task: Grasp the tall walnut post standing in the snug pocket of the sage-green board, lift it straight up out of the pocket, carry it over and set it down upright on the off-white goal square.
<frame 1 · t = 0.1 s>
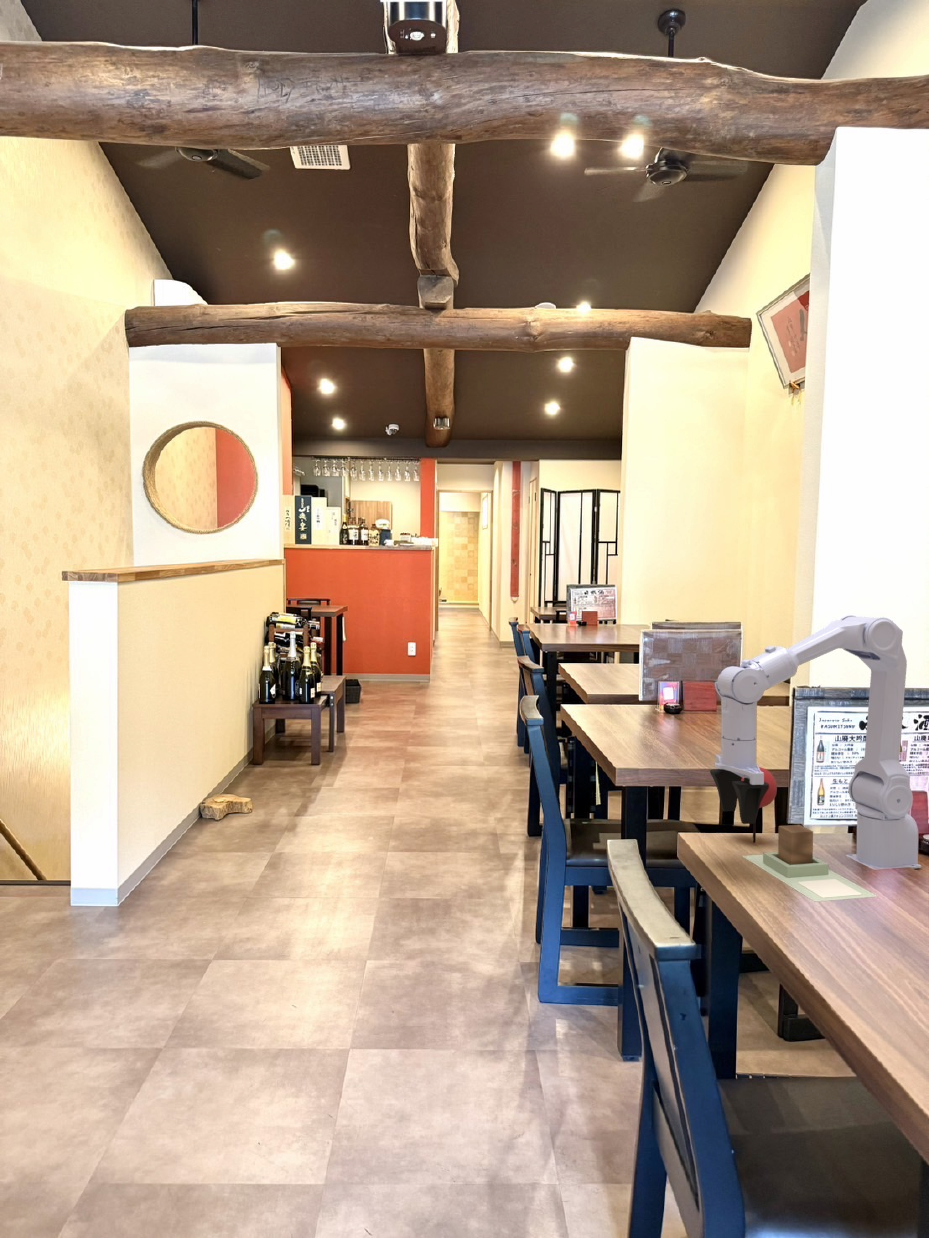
hand: (738, 816, 143), 10 cm above the table, fingers open, 7 cm apart
lollipop: (754, 846, 160), on the table
pocket board: (805, 878, 142), on the table
walnut post: (795, 868, 145), point 1 cm above the table, touching pocket board
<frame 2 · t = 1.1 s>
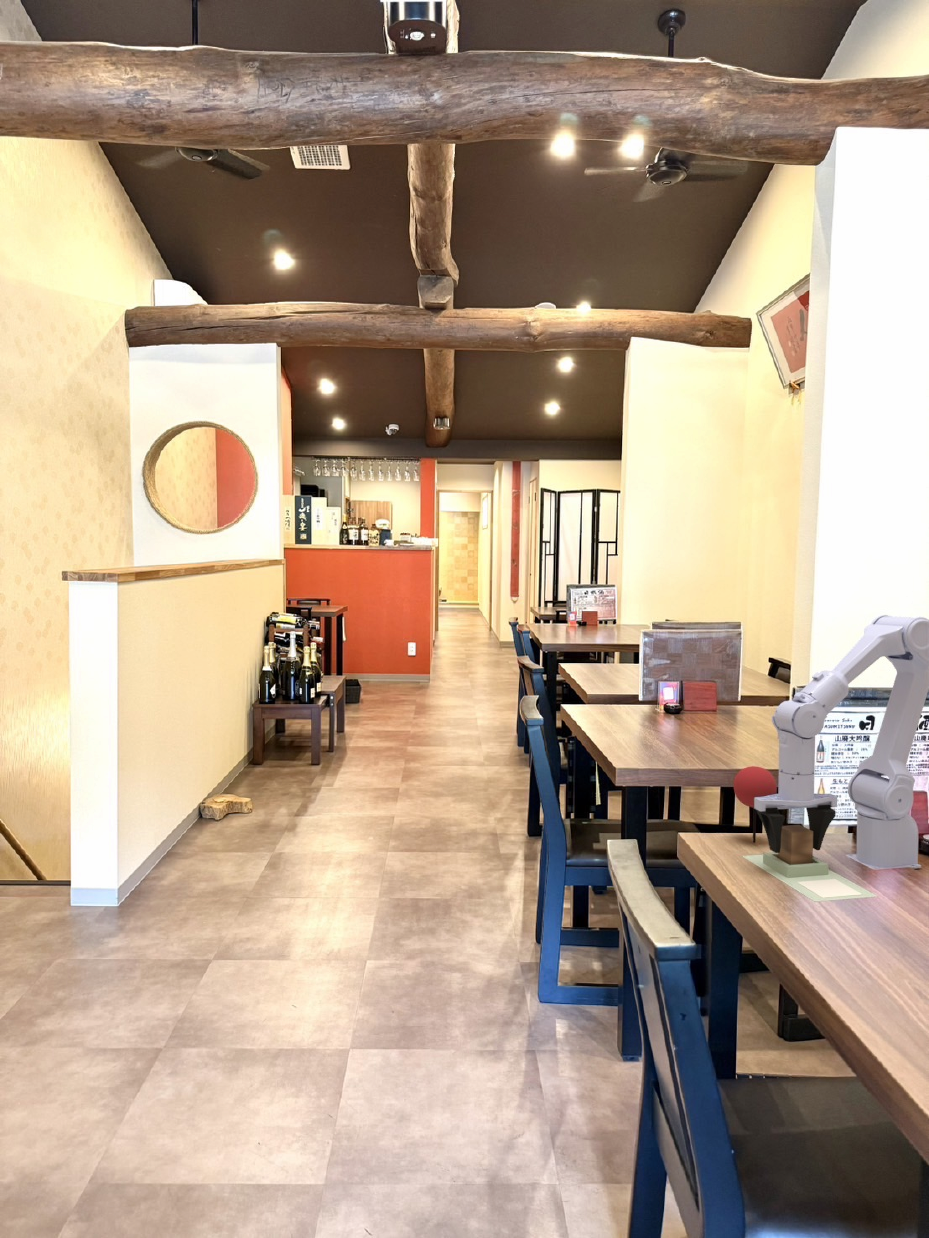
hand: (794, 849, 145), 4 cm above the table, fingers open, 7 cm apart
nothing on the table moved.
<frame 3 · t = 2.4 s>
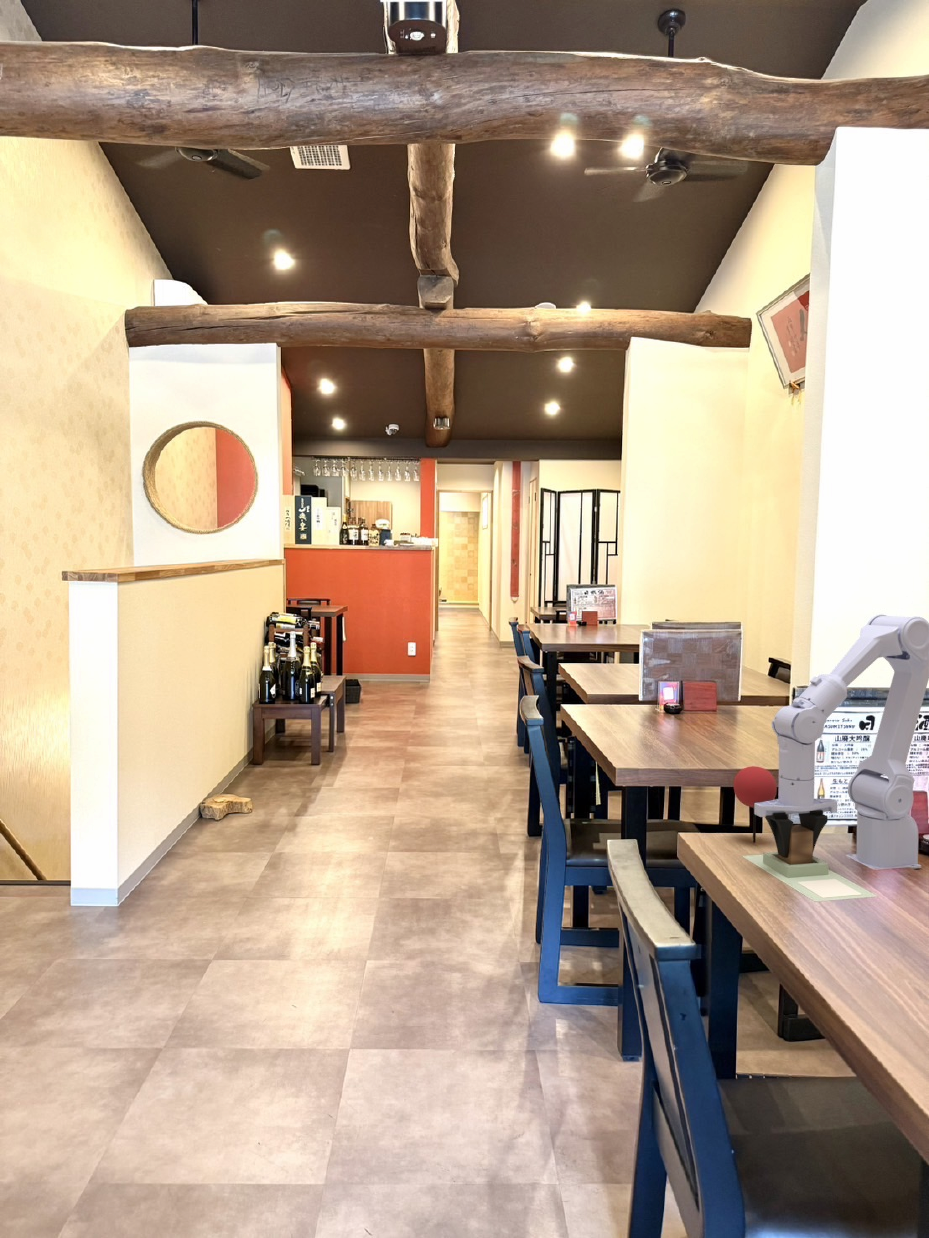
hand: (795, 855, 145), 3 cm above the table, fingers closed on walnut post, 4 cm apart
walnut post: (795, 868, 145), point 1 cm above the table, touching gripper, pocket board
everything else where it was.
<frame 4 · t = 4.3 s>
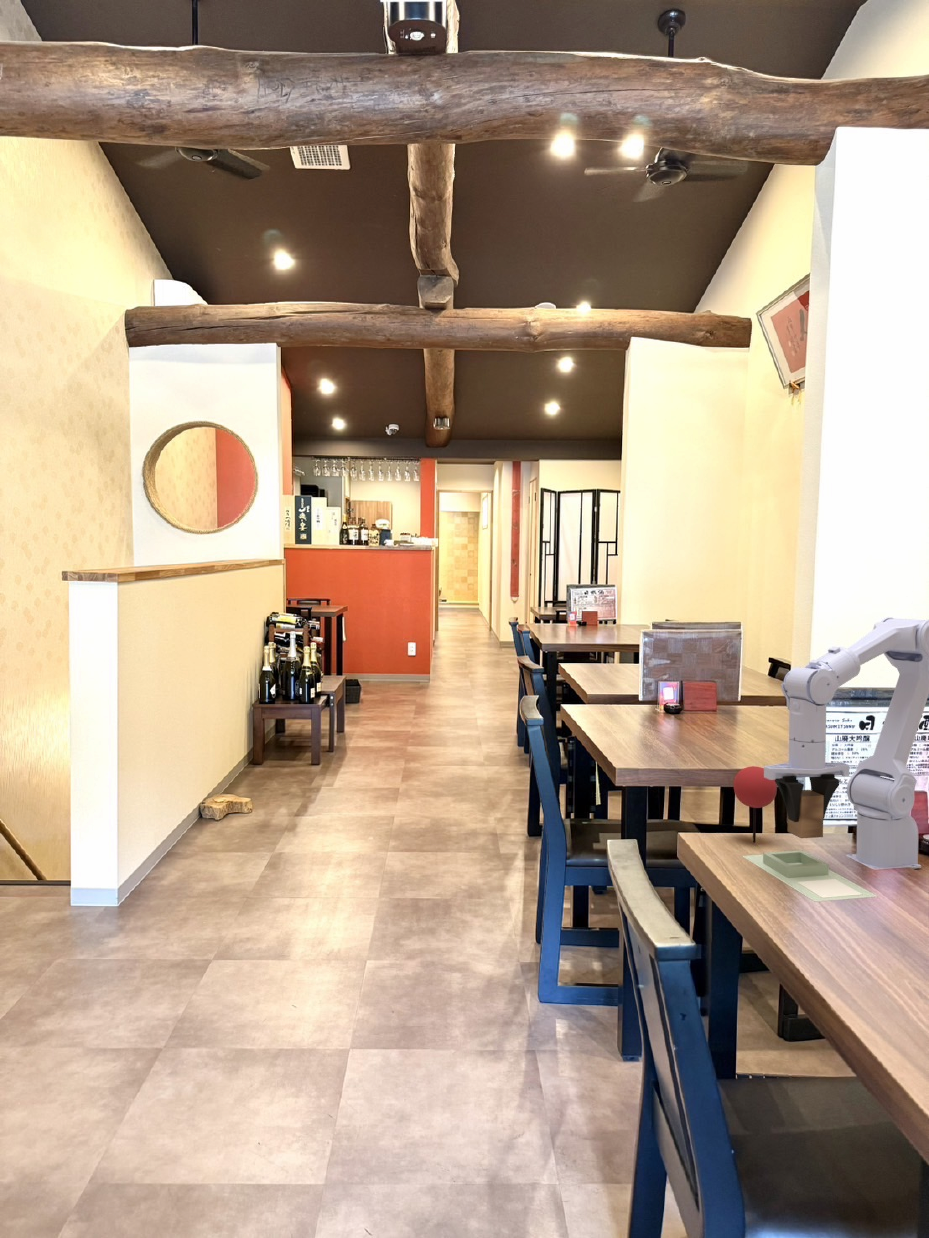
hand: (805, 819, 141), 10 cm above the table, fingers closed on walnut post, 4 cm apart
walnut post: (805, 834, 142), point 7 cm above the table, touching gripper
everything else where it was.
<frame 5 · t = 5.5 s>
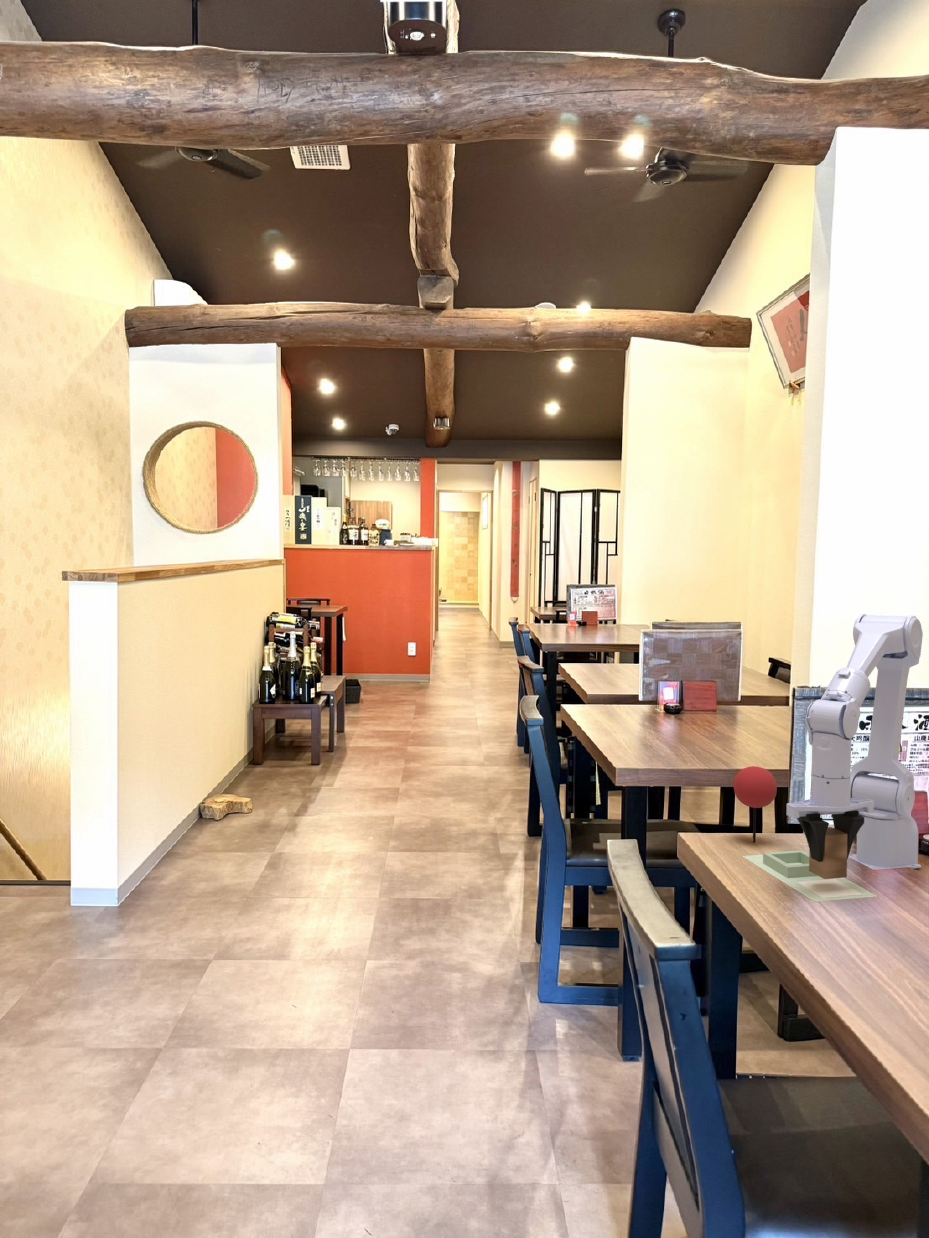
hand: (829, 858, 135), 5 cm above the table, fingers closed on walnut post, 4 cm apart
walnut post: (827, 874, 136), point 3 cm above the table, touching gripper
everything else where it was.
when the fingers open (4 cm above the table, at t = 6.5 s): walnut post drops 1 cm, resting on pocket board.
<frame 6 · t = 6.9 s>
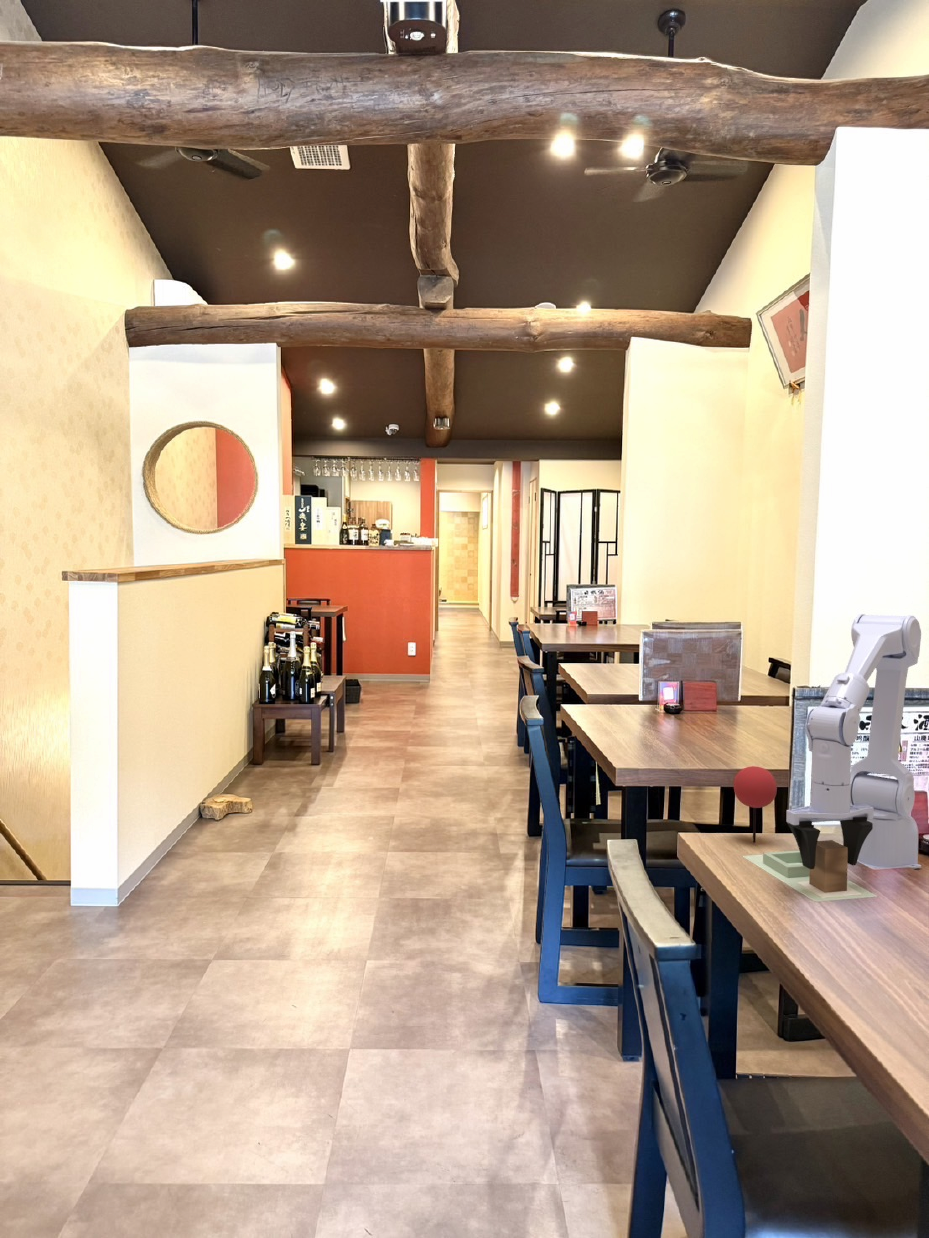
hand: (829, 865, 135), 4 cm above the table, fingers open, 7 cm apart
walnut post: (827, 887, 136), point 1 cm above the table, touching pocket board
everything else where it was.
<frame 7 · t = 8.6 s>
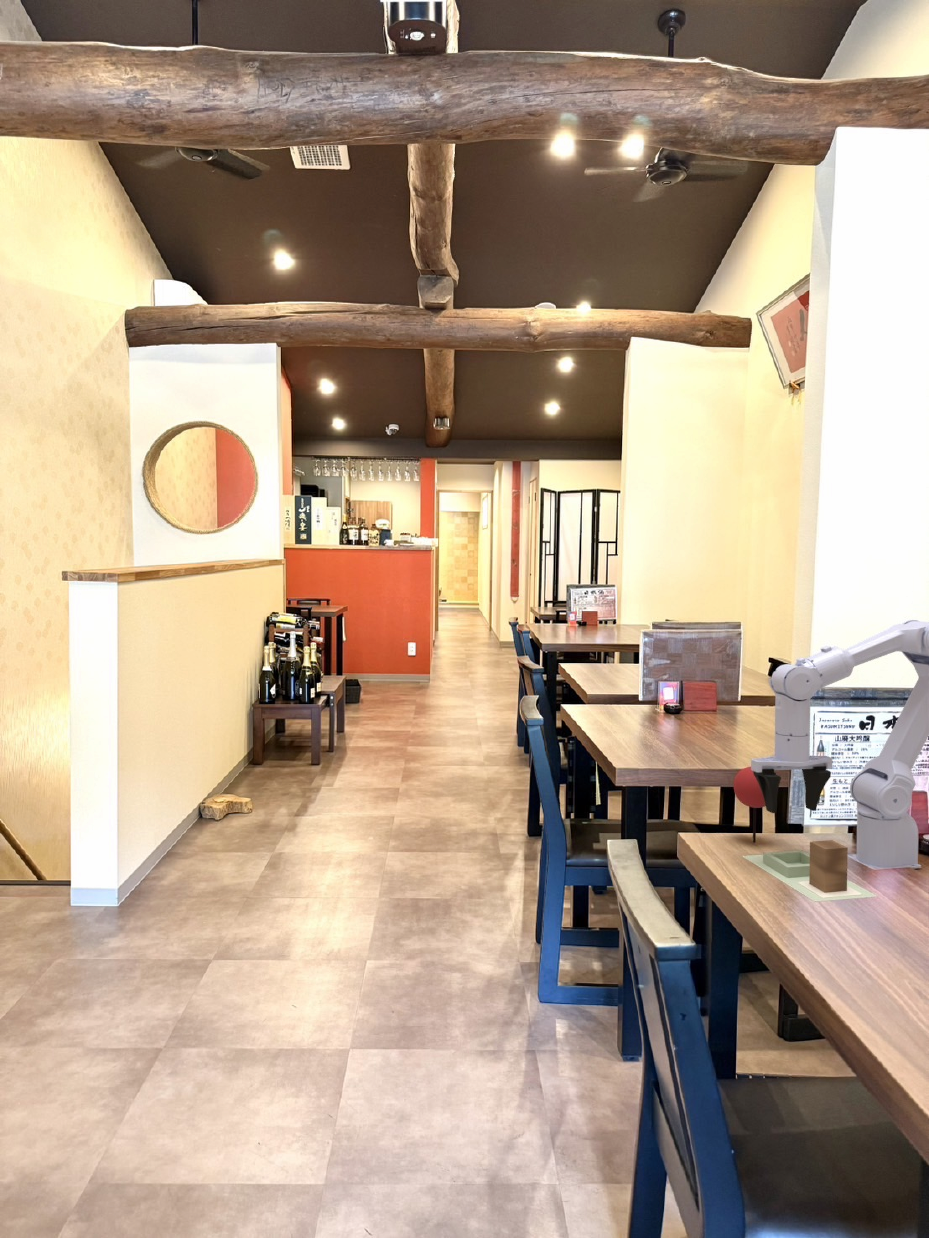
hand: (791, 810, 147), 10 cm above the table, fingers open, 7 cm apart
nothing on the table moved.
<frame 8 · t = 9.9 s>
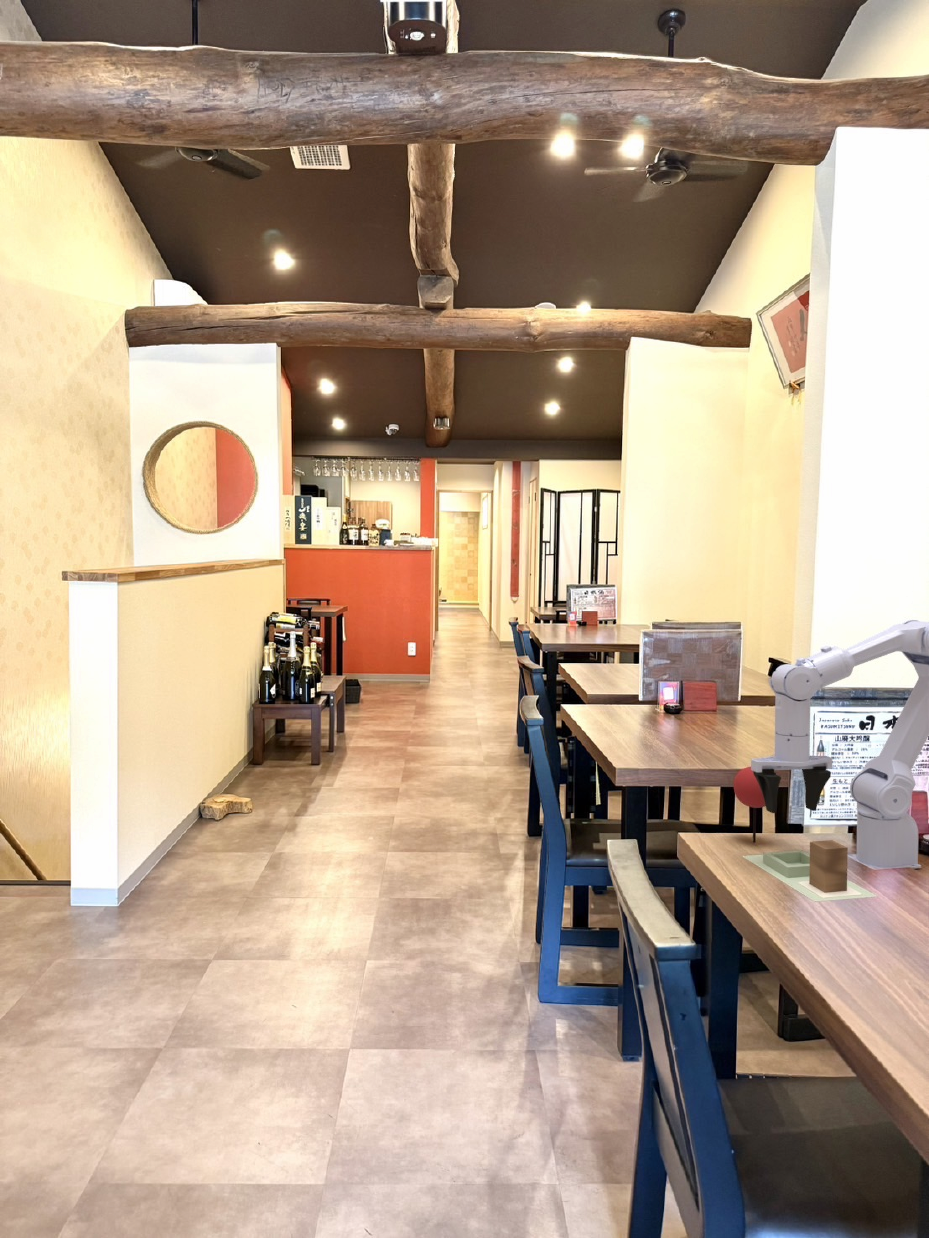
hand: (791, 810, 147), 10 cm above the table, fingers open, 7 cm apart
nothing on the table moved.
at the end: walnut post inside the target area (0.3 cm from its centre), point 0.7 cm above the table; walnut post tilted 0°; the gripper is holding nothing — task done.
